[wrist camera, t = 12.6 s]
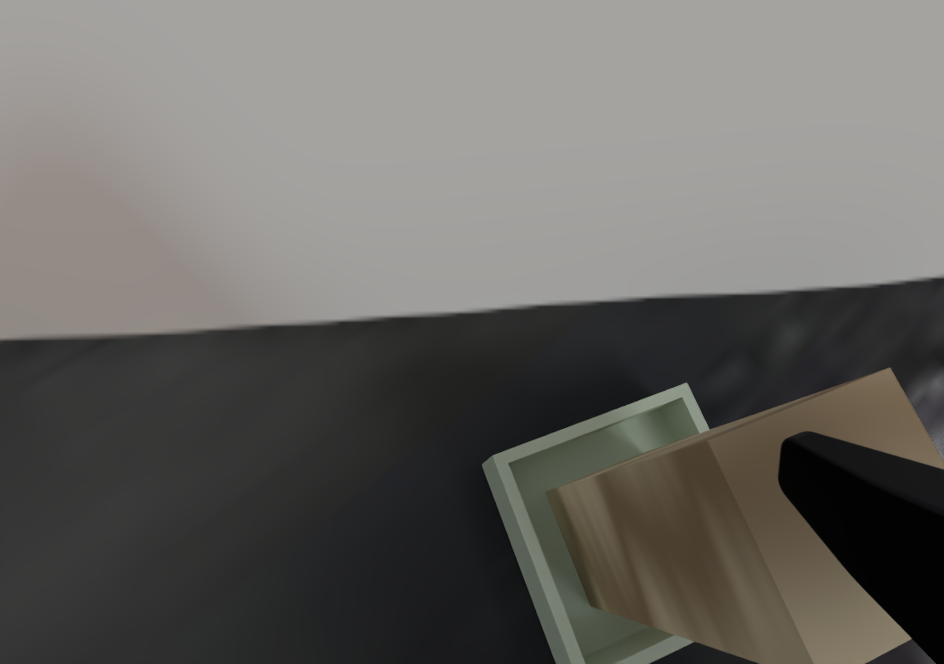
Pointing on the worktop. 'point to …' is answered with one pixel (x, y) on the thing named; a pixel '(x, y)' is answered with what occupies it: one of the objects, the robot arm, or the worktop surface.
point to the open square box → (541, 542)
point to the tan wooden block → (738, 533)
